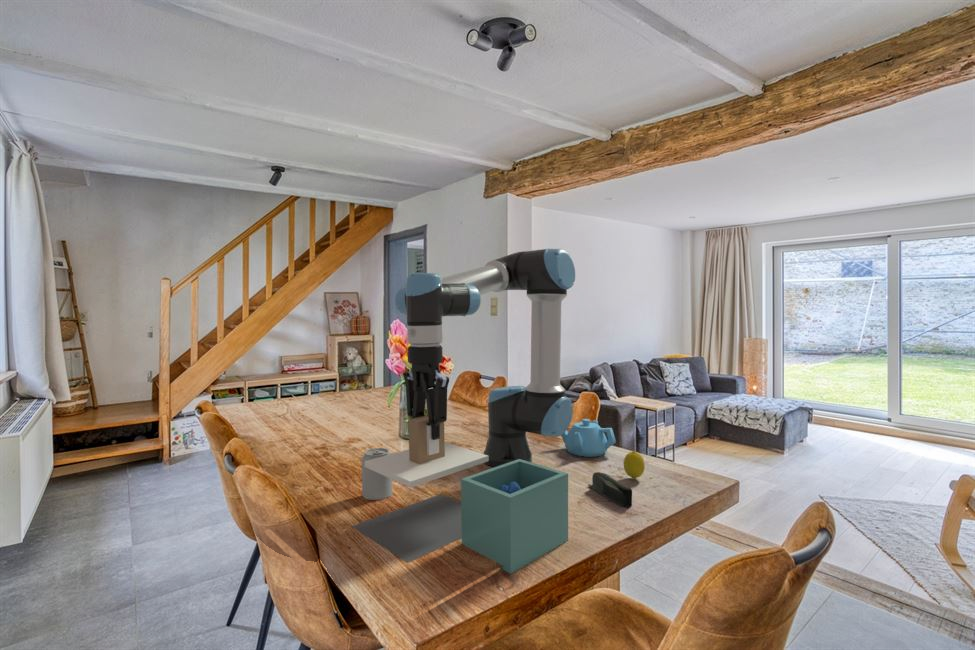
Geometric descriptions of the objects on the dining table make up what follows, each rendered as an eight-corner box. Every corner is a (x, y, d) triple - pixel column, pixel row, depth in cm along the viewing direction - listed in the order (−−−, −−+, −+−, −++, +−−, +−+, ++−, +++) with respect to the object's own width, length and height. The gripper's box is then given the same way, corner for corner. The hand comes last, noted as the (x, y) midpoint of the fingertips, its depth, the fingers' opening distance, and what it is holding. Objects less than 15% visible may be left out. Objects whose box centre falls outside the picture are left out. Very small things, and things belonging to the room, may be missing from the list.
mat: (351, 529, 104) (351, 526, 104) (441, 497, 122) (441, 493, 122) (407, 566, 89) (407, 562, 89) (500, 523, 107) (500, 519, 107)
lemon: (645, 483, 130) (645, 454, 130) (624, 482, 131) (624, 453, 131) (643, 476, 135) (643, 448, 135) (622, 475, 137) (623, 447, 136)
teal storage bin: (461, 547, 96) (461, 478, 96) (519, 520, 108) (519, 458, 108) (510, 573, 87) (510, 497, 86) (568, 540, 99) (568, 473, 98)
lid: (364, 466, 104) (363, 420, 103) (440, 445, 119) (439, 404, 118) (410, 487, 92) (409, 435, 91) (488, 461, 106) (487, 415, 106)
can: (366, 505, 117) (365, 457, 116) (359, 495, 124) (358, 449, 123) (396, 499, 120) (395, 452, 120) (387, 489, 127) (387, 444, 127)
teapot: (573, 461, 149) (573, 426, 149) (555, 447, 164) (555, 416, 164) (618, 457, 153) (618, 423, 152) (596, 443, 168) (596, 413, 167)
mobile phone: (634, 487, 115) (595, 467, 129) (624, 490, 114) (586, 468, 127) (634, 508, 116) (594, 485, 129) (624, 510, 114) (585, 487, 128)
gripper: (388, 344, 107) (391, 447, 108) (435, 348, 95) (437, 464, 97) (416, 341, 112) (418, 440, 114) (463, 345, 101) (465, 455, 102)
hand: (427, 451), depth 105 cm, fingers closed on lid, 3 cm apart
